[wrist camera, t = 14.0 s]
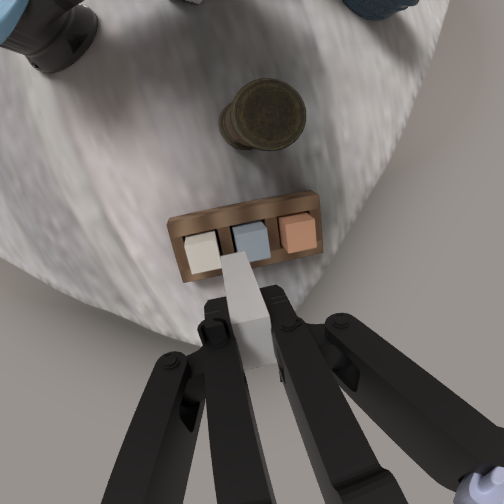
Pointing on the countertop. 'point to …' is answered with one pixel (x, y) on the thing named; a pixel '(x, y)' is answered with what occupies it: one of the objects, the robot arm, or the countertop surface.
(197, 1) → the juice carton
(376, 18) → the canister
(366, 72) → the countertop surface
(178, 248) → the key panel
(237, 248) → the slate key
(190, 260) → the ivory key
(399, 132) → the countertop surface
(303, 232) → the terracotta key
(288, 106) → the container
